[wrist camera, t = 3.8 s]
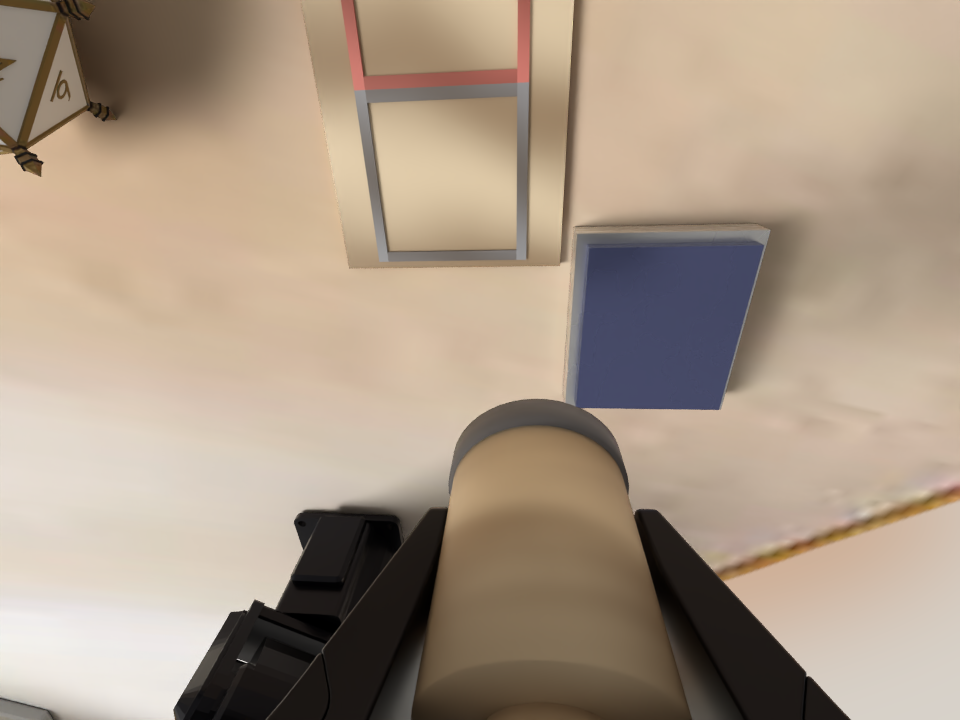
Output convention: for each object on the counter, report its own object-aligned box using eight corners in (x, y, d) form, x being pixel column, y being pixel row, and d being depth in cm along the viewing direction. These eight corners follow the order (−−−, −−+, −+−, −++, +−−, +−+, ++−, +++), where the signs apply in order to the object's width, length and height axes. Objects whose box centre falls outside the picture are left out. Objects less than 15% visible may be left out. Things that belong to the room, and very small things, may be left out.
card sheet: (559, 263, 18) (560, 266, 18) (351, 266, 19) (348, 269, 19) (583, -195, 12) (585, -204, 12) (274, -164, 13) (267, -173, 13)
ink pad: (710, 395, 21) (726, 417, 19) (562, 393, 21) (566, 415, 20) (755, 223, 17) (779, 233, 15) (573, 226, 18) (579, 237, 16)
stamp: (614, 526, 11) (734, 1042, 5) (461, 524, 12) (393, 997, 5) (628, 397, 9) (854, 976, 3) (444, 400, 10) (310, 914, 3)
